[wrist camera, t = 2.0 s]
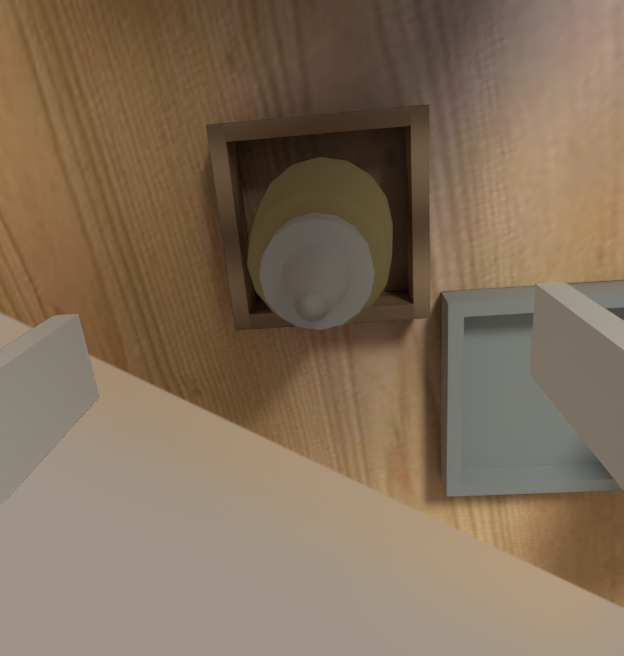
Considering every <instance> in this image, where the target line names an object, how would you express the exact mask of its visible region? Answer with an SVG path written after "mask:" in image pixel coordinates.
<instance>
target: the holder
mask: <svg viewBox="0 0 624 656" xmlns="http://www.w3.org/2000/svg"><path fill="white" fill-rule="evenodd" d="M401 126H405V171H406V222H407V273H408V290H406V291H390V292H382V293H381V294H380V296H379V297H378V299H377V300H376V302H375V303H374V305H373V307H372V308H370V309H369V310H367V311H366V312H364V313H363V314H362V315H360V316H359V317H357V318H356V319H354V320H353V321H351V322H350V323H358V322H375V321H391V320H407V319H424V318H430V237H429V105H419V106H408V107H397V108H386V109H375V110H364V111H353V112H342V113H331V114H320V115H309V116H298V117H287V118H276V119H265V120H254V121H243V122H232V123H221V124H210V125H206V128H207V135H208V142H209V149H210V156H211V163H212V170H213V176H214V183H215V190H216V197H217V204H218V211H219V218H220V225H221V232H222V239H223V246H224V253H225V260H226V267H227V274H228V281H229V288H230V295H231V302H232V309H233V315H234V322H235V329H236V330H243V329H260V328H276V327H293V326H295V325H294V324H292V323H290V322H288V321H286V320H285V319H283V318H281V317H279V315H277V314H275V313H274V312H272V311H271V309H270V308H269V307H268V306H267V304H266V303H265V302H264V301H263V300H256V298H255V291H254V285H253V282H252V279H251V276H250V273H249V269H248V266H247V261H248V249H249V243H248V235H247V227H246V219H245V212H244V204H243V196H242V188H241V180H240V172H239V164H238V156H237V148H236V141H243V140H254V139H265V138H277V137H288V136H299V135H311V134H322V133H333V132H345V131H356V130H367V129H379V128H390V127H401Z"/></svg>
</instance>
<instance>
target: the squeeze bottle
mask: <svg viewBox="0 0 624 656" xmlns="http://www.w3.org/2000/svg"><path fill="white" fill-rule="evenodd" d="M392 242H393V223H392V218H391V213H390V209H389V204H388V200H387V197H386V196H385V194H384V193H383V191H382V190H381V188H380V187H379V186H378V184H377V183H376V181H375V180H374V179H373V177H372V176H371V175H370V174H368V173H367V172H365V171H363V170H362V169H360V168H359V167H357V166H355V165H354V164H352V163H350V162H349V161H346V160H339V159H332V158H325V157H317V158H313V159H310V160H306V161H303V162H299V163H296V164H292V165H291V166H290V167H289V168H288V169H286V170H285V171H284V172H283V173H281V174H280V175H279V176H278V177H277V178H275V179H274V180H273V181H272V182H271V183H270V185H269V187H268V189H267V191H266V193H265V194H264V196H263V198H262V200H261V202H260V204H259V206H258V209H257V213H256V216H255V220H254V223H253V227H252V230H251V234H250V237H249V249H248V261H247V266H248V269H249V273H250V276H251V279H252V282H253V285H254V288H255V291H256V292H257V294H258V295H259V296H260V297H261V298H262V300H263V301H264V302H265V303H266V304H267V306H268V307H269V308H270V309H271V311H272V312H274V313H275V314H277V315H279V317H281V318H283V319H285V320H286V321H288V322H290V323H292V324H294V325H295V326H297V327H300V328H308V329H315V330H324V329H328V328H332V327H336V326H340V325H343V324H346V323H350V322H351V321H353V320H354V319H356V318H357V317H359V316H360V315H362V314H363V313H364V312H366V311H367V310H369V309H370V308H372V307H373V305H374V303H375V302H376V300H377V299H378V297H379V296H380V294H381V293H382V291H383V290H384V288H385V287H386V285H387V282H388V277H389V271H390V266H391V261H392Z"/></svg>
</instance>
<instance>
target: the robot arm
mask: <svg viewBox="0 0 624 656" xmlns="http://www.w3.org/2000/svg"><path fill="white" fill-rule="evenodd" d="M530 375H531V376H532V377H533V379H534V380H535V381H536V382H537V384H538V385H539V386H540V387H541V389H542V390H543V391H544V392H545V394H546V395H547V396H548V397H549V399H550V400H551V401H552V402H553V404H554V405H555V406H556V407H557V409H558V410H559V411H560V412H561V414H562V415H563V416H564V417H565V419H566V420H567V421H568V422H569V424H570V425H571V426H572V427H573V429H574V430H575V431H576V432H577V434H578V435H579V436H580V437H581V439H582V440H583V441H584V442H585V443H586V445H587V446H588V447H589V448H590V450H591V451H592V452H593V453H594V455H595V456H596V457H597V458H598V460H599V461H600V462H601V463H602V465H603V466H604V467H605V468H606V470H607V471H608V472H609V473H610V475H611V476H612V477H613V478H614V480H615V481H616V482H617V483H618V485H619V486H620V487H621V488H622V490H623V491H624V320H622V319H620V318H619V317H617V316H616V315H614V314H613V313H611V312H610V311H608V310H607V309H605V308H604V307H602V306H601V305H599V304H597V303H596V302H594V301H593V300H591V299H590V298H588V297H587V296H585V295H584V294H582V293H581V292H579V291H577V290H576V289H574V288H573V287H571V286H570V285H568V284H567V283H565V282H551V283H536V284H535V298H534V313H533V328H532V343H531V359H530ZM98 398H99V394H98V390H97V387H96V382H95V379H94V374H93V370H92V366H91V362H90V358H89V354H88V350H87V346H86V342H85V338H84V334H83V330H82V326H81V322H80V318H79V314H68V315H53V316H52V317H50V318H49V319H47V320H46V321H44V322H42V323H41V324H39V325H38V326H36V327H35V328H33V329H32V330H30V331H28V332H27V333H25V334H24V335H23V336H21V337H19V338H18V339H16V340H14V341H13V342H11V343H10V344H8V345H7V346H5V347H3V348H2V349H0V506H1V505H2V504H3V503H4V502H5V501H6V500H7V498H8V497H9V496H10V495H11V494H12V493H13V492H14V491H15V490H16V489H17V487H18V486H19V485H20V484H21V483H22V482H23V481H24V480H25V478H26V477H27V476H28V475H29V474H30V473H31V472H32V471H33V470H34V468H36V466H37V465H38V464H39V463H40V462H41V461H42V460H43V459H44V458H45V457H46V455H47V454H48V453H49V452H50V451H51V450H52V449H53V448H54V447H55V446H56V444H57V443H58V442H59V441H60V440H61V439H62V438H63V437H64V436H65V434H66V433H67V432H68V431H69V430H70V429H71V428H72V427H73V425H74V424H75V423H76V422H77V421H78V420H79V419H80V418H81V417H82V415H83V414H84V413H85V412H86V411H87V410H88V409H89V408H90V407H91V406H92V404H93V403H94V402H95V401H96V400H97V399H98Z"/></svg>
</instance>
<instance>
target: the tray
mask: <svg viewBox="0 0 624 656" xmlns="http://www.w3.org/2000/svg"><path fill="white" fill-rule="evenodd" d="M568 285H570V286H571V287H573V288H574V289H576V290H577V291H579V292H581V293H582V294H584V295H585V296H587V297H588V298H590V299H591V300H593V301H594V302H596V303H597V304H599V305H601V306H602V307H604V308H605V309H607V310H608V311H610V312H611V313H613V314H614V315H616V316H617V317H619V318H620V319H622V320H624V280H615V281H599V282H584V283H569V284H568ZM534 298H535V286H522V287H507V288H491V289H476V290H460V291H445V292H441V479H442V482H443V486H444V489H445V493H446V496H447V497H449V496H477V495H505V494H533V493H561V492H589V491H617V490H622V488H621V487H620V486H619V485H618V483H617V482H616V481H615V480H614V478H613V477H612V476H611V475H610V473H609V472H608V471H607V470H606V468H605V467H604V466H603V465H602V463H601V462H600V461H599V460H598V458H597V457H596V456H595V455H594V453H593V452H592V451H591V450H590V448H589V447H588V446H587V445H586V443H585V442H584V441H583V440H582V439H581V437H580V436H579V435H578V434H577V432H576V431H575V430H574V429H573V427H572V426H571V425H570V424H569V422H568V421H567V420H566V419H565V417H564V416H563V415H562V414H561V412H560V411H559V410H558V409H557V407H556V406H555V405H554V404H553V402H552V401H551V400H550V399H549V397H548V396H547V395H546V394H545V392H544V391H543V390H542V389H541V387H540V386H539V385H538V384H537V382H536V381H535V380H534V379H533V377H532V376H531V375H530V359H531V343H532V328H533V313H534Z"/></svg>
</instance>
